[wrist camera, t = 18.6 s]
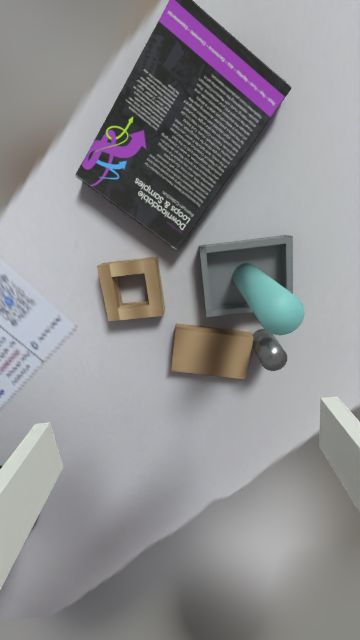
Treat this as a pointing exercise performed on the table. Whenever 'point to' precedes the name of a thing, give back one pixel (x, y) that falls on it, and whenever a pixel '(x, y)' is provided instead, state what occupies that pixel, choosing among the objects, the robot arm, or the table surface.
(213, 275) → the tray
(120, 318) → the socket block
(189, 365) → the tan block
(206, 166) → the box
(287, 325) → the dowel
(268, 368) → the bench dog
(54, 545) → the table surface
